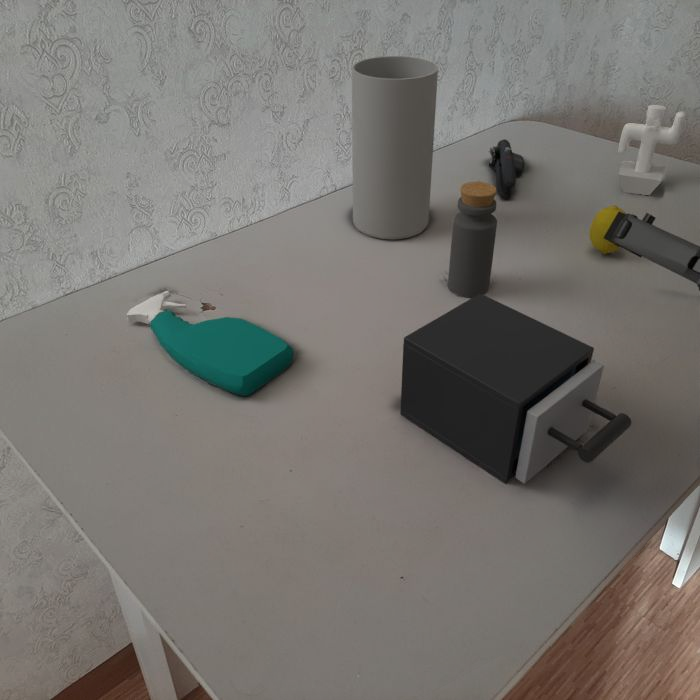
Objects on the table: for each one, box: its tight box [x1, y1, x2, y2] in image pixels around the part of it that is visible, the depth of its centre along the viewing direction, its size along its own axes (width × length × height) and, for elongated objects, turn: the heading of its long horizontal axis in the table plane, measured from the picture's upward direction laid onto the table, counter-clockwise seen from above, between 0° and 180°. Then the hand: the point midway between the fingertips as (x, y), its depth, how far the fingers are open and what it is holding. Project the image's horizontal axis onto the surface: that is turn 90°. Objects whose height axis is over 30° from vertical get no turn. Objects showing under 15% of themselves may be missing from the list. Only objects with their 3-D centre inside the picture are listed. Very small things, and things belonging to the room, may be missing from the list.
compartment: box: [514, 359, 633, 485], centre depth 73 cm, size 18×11×9 cm, turn 43°
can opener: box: [488, 139, 526, 200], centre depth 131 cm, size 18×7×6 cm, turn 170°
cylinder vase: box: [351, 55, 439, 240], centre depth 111 cm, size 12×12×25 cm
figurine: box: [617, 104, 687, 196], centre depth 125 cm, size 7×9×15 cm
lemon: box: [589, 204, 627, 255], centre depth 107 cm, size 6×6×8 cm
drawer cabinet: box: [399, 294, 595, 485], centre depth 76 cm, size 15×13×11 cm
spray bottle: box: [126, 290, 295, 397], centre depth 91 cm, size 3×11×24 cm
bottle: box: [447, 181, 498, 298], centre depth 98 cm, size 6×6×15 cm
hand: (674, 256), depth 67 cm, fingers open, 13 cm apart
